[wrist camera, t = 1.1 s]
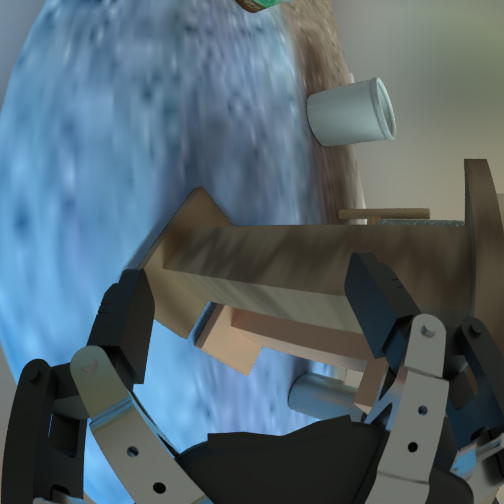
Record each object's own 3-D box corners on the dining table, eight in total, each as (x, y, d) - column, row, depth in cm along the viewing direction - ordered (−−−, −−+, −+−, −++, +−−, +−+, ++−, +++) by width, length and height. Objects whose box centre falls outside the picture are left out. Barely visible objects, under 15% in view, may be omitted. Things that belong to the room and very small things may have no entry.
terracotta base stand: (241, 373, 43) (383, 419, 27) (194, 345, 35) (372, 407, 20) (280, 292, 50) (414, 310, 34) (246, 251, 42) (411, 260, 27)
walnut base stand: (179, 336, 33) (461, 418, 13) (120, 293, 27) (499, 394, 6) (235, 238, 41) (480, 246, 20) (194, 188, 34) (486, 159, 14)
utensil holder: (299, 84, 54) (372, 67, 42) (327, 99, 64) (388, 88, 53) (309, 144, 56) (386, 134, 45) (335, 150, 67) (399, 144, 56)
